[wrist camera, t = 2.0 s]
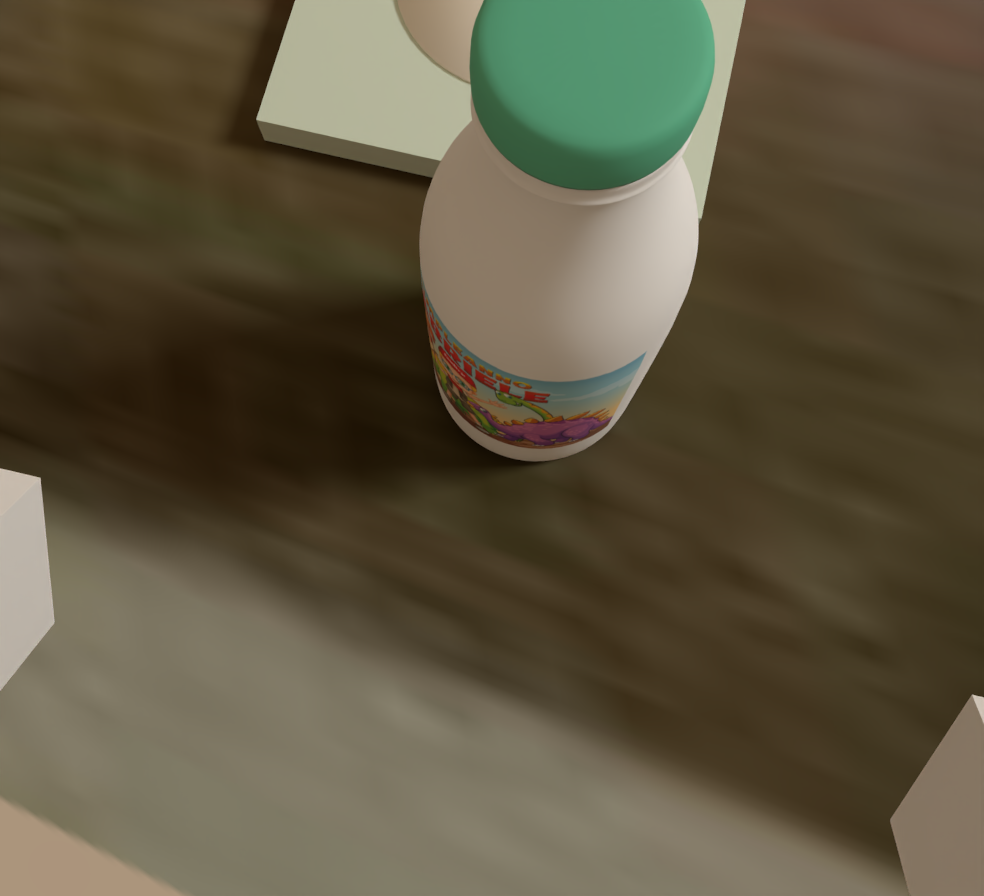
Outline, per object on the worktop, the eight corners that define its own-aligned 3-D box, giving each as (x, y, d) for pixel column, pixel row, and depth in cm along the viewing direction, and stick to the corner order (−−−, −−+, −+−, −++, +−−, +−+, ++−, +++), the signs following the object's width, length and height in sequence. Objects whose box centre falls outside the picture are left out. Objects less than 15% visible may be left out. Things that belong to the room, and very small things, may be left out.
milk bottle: (505, 241, 38) (533, -207, 18) (669, 342, 37) (882, -14, 17) (396, 395, 36) (298, 86, 17) (564, 504, 35) (667, 313, 16)
